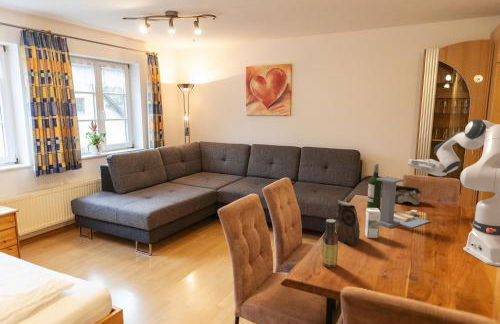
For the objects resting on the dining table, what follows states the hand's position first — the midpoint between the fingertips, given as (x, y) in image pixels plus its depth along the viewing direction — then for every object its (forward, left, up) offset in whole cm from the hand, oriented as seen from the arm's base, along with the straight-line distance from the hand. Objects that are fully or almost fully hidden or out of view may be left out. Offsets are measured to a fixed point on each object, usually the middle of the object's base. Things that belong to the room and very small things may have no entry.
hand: (419, 162), depth 197 cm
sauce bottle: (-72, +59, -33) cm, 99 cm away
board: (-5, +7, -32) cm, 33 cm away
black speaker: (-45, +46, -33) cm, 72 cm away
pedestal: (-18, +21, -33) cm, 43 cm away
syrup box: (-38, +34, -33) cm, 61 cm away
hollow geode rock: (+28, +1, -33) cm, 43 cm away
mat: (-9, +11, -33) cm, 35 cm away
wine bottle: (+8, +22, -33) cm, 41 cm away
